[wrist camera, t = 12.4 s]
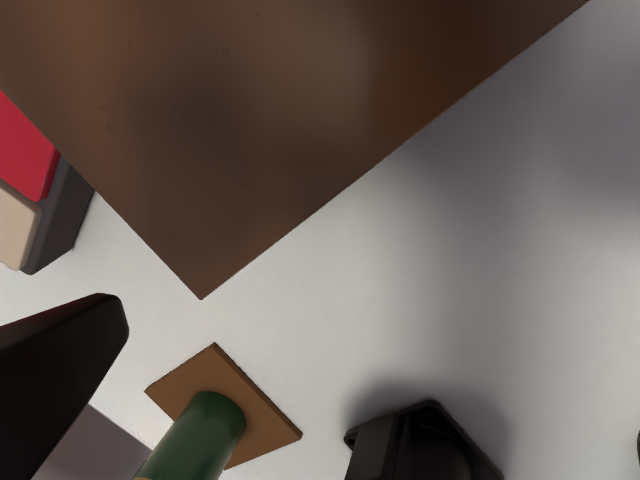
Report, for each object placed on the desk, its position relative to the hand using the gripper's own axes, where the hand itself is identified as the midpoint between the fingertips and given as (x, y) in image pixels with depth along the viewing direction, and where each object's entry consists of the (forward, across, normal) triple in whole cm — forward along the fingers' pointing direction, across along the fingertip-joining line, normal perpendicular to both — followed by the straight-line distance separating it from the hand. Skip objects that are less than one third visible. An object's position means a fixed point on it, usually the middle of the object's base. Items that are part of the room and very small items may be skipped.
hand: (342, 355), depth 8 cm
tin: (+12, +12, +18) cm, 24 cm away
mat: (+12, +12, +18) cm, 25 cm away
